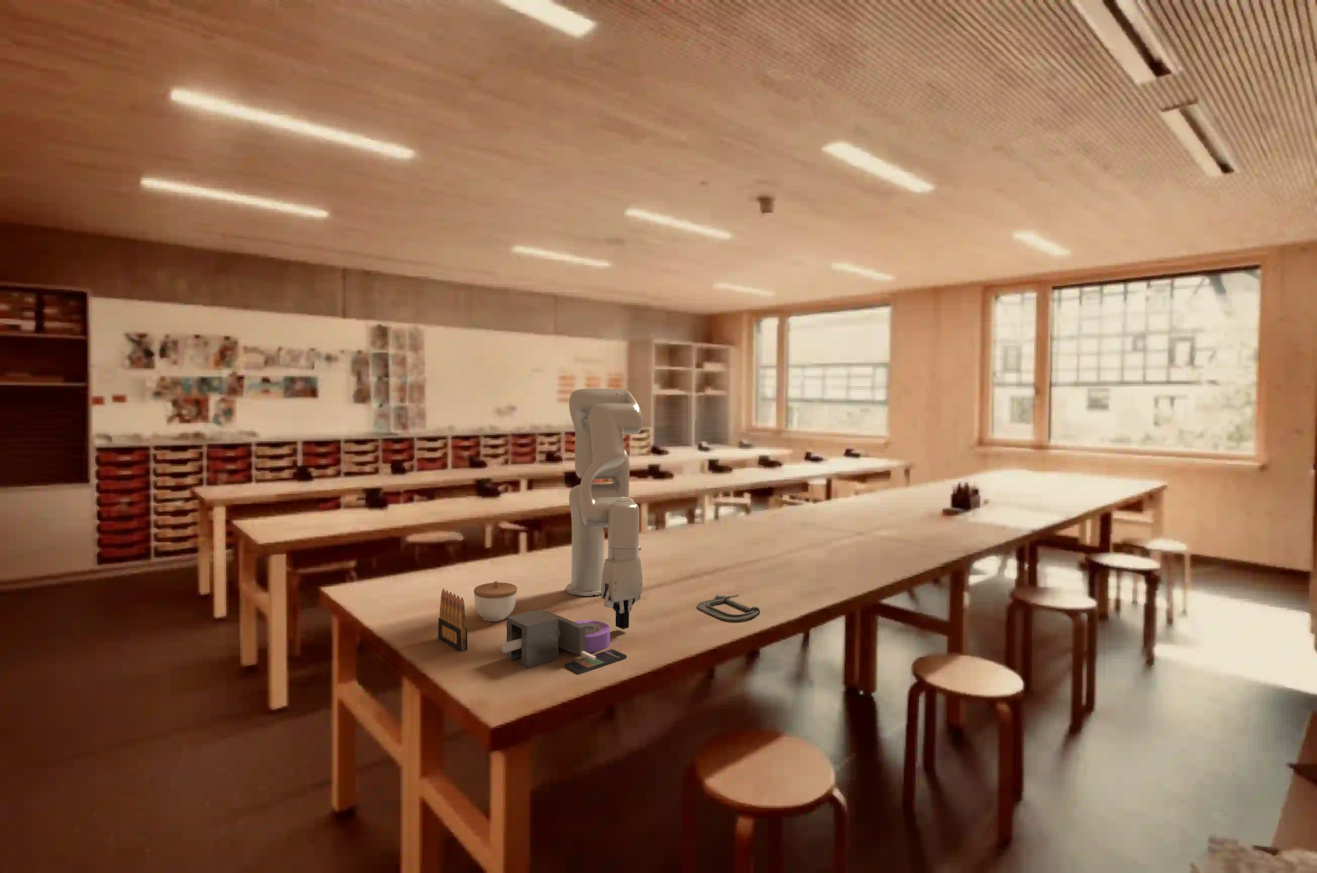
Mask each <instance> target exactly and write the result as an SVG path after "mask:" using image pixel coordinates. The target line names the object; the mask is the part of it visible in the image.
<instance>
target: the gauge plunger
mask: <svg viewBox="0 0 1317 873" xmlns="http://www.w3.org/2000/svg"><path fill="white" fill-rule="evenodd" d="M539 610H540V611H543V612H545V613H547V614H550V615H552V616H554V617H557V618H559V625H558V647H560V648H561V647H563V648H565V649H567V650H569V651H568V652H570V651H571V653H574V654H576V655H578V656H583V657H584V658H585V657H587V658H589V659H591V660H595V659H596V656H594V655H595V654H591V653H587V652H585V626H582V625H580V624H578V623H575V621H572V620H571V619H568V618H566V617H563V616H560V615H558V614H556V613H553V612H551V611H549V610H547V609H543V608H542V609H539ZM520 648H522V638H521V639H517V640H513V641H510V642H507V641H505V642H502V643H501V644H500V651H501V653H502V654H506V653H507V652H510V651H513V650H517V649H520ZM567 650H566V651H567Z"/></svg>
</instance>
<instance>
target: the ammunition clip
mask: <svg viewBox="0 0 1317 873" xmlns="http://www.w3.org/2000/svg"><path fill="white" fill-rule="evenodd" d="M464 600H465V599H464V598H463V596H462V597H461V598H460V596H459V595H457V596H456V593H453V594H452V592H451V591H450V592H449V591H448V590H445V588H442V589H441V594H440V604H439V617H438V621H437V623H438V624H437V625H438V626H437V630H438V632H437V639H438V640H439V641H440V640H441V641H440V642H442V643H444V644H445V645H448V646H449V647H451V648H452V649H454V650H456V651H457V652H461V653H462V652H464V651H468V627H467V625H466V622H467V619H466V618H467V616H466V609H465V608H466V607H465V601H464Z"/></svg>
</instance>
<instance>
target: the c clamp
mask: <svg viewBox="0 0 1317 873" xmlns="http://www.w3.org/2000/svg"><path fill="white" fill-rule="evenodd" d="M736 597H739V594H734V595H720V594H716V595H715V596H714V599H708V600H704V601H700V602H699V603H697V604H696V609H697V610H698V609H699V610H698V611H700V610H701V611H700V612H702V611H703V613H704V614H707V615H709V616H711V617H713V616H714V617H713V618H716V619H718V620H720V621H723V622H729V623H737V622H744V621H747V620H750V619H753V618H755V617H756V616H757V615H758V616H759V615H760V614H761V610H760V608H759V607H758V606H751V607H749V606H747V605H745V604H742V603H739V602H737V601H735V600H733V599H731V598H736ZM723 604H728V605H729V606H732V607H734V608H736V609H739V610H742V611H744V613H739V614H737V613H736V614H735V613H727V612H725V611H723V610H721V609H718V608H716V607H715V606H719V605H723ZM714 605H715V606H714Z"/></svg>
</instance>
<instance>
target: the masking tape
mask: <svg viewBox="0 0 1317 873" xmlns="http://www.w3.org/2000/svg"><path fill="white" fill-rule="evenodd" d="M574 622H575V623H578V624H580V625H582V626H585V652H587V653H589V654H591V653H596V652H601V651H603V650H605V649H607V648H608V647H609V646H610V645H611V627H610V625H609V624H607V623H604V622H602V621H598V620H575V621H574ZM560 649H562V650H564V651H568V652H571V651H569V650H567V649H565V648H563V647H560ZM571 653H572V652H571Z"/></svg>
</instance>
